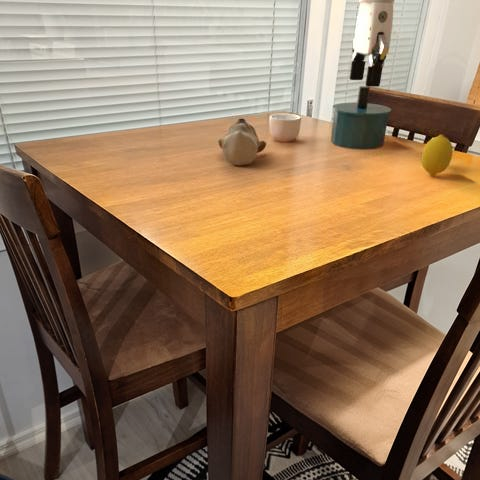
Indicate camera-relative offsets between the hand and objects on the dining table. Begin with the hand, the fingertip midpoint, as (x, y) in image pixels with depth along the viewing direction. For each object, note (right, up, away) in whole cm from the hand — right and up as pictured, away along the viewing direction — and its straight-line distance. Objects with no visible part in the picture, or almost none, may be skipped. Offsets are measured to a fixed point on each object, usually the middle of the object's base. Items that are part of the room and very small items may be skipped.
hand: (363, 82), depth 114 cm
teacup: (-18, -10, +10) cm, 22 cm away
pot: (0, -11, +7) cm, 13 cm away
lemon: (+10, -26, -15) cm, 32 cm away
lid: (0, -5, +3) cm, 6 cm away
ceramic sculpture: (-28, -20, -7) cm, 35 cm away
